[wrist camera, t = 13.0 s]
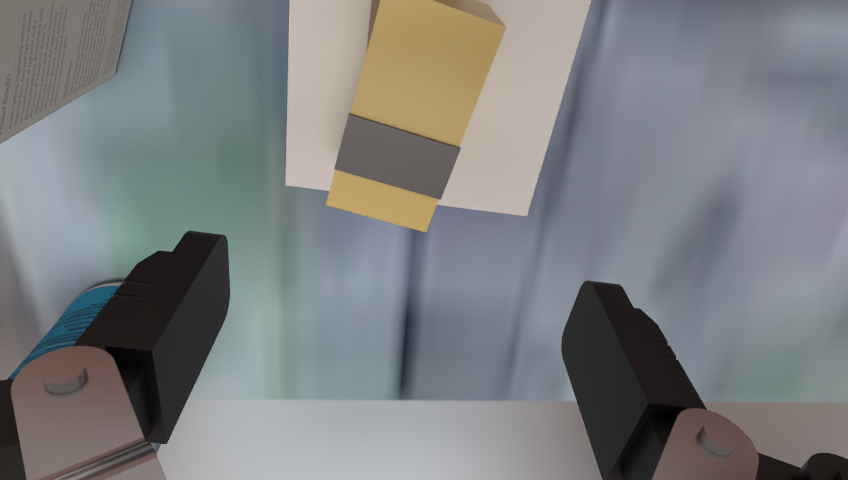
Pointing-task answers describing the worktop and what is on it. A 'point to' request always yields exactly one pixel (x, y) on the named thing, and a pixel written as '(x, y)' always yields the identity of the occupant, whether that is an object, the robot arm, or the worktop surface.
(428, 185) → the block
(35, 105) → the small box
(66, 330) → the teal labeled canister
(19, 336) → the worktop surface
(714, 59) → the worktop surface
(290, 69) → the floor panel
